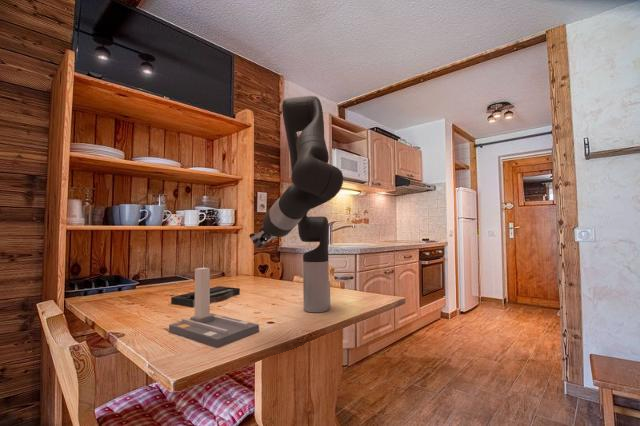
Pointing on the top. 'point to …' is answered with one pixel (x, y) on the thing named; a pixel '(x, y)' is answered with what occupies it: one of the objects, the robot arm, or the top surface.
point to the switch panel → (214, 330)
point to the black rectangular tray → (215, 296)
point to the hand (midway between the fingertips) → (259, 244)
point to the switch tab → (202, 296)
